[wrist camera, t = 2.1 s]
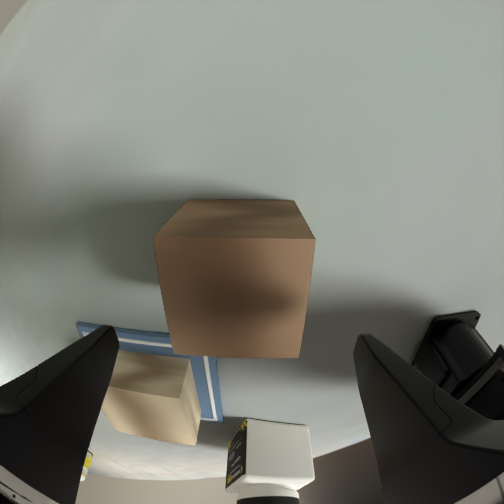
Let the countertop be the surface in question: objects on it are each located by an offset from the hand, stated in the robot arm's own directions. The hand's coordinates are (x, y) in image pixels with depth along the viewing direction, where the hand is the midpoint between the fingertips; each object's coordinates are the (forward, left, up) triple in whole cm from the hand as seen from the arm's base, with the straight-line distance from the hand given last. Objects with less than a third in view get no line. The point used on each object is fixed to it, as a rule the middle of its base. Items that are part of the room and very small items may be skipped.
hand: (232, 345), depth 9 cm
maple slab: (+8, +13, -8) cm, 17 cm away
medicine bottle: (-2, +23, -8) cm, 24 cm away
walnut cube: (0, 0, -8) cm, 8 cm away
